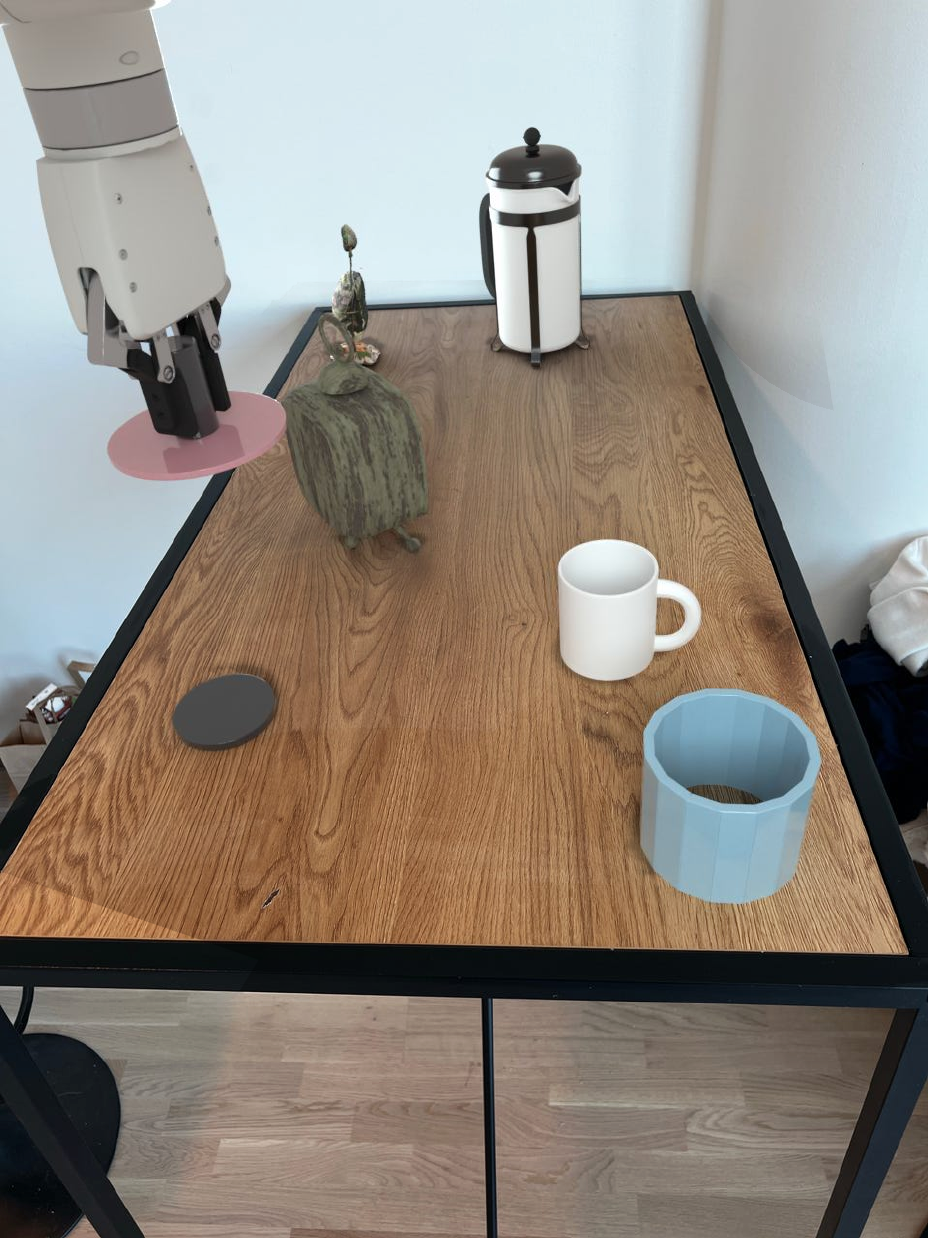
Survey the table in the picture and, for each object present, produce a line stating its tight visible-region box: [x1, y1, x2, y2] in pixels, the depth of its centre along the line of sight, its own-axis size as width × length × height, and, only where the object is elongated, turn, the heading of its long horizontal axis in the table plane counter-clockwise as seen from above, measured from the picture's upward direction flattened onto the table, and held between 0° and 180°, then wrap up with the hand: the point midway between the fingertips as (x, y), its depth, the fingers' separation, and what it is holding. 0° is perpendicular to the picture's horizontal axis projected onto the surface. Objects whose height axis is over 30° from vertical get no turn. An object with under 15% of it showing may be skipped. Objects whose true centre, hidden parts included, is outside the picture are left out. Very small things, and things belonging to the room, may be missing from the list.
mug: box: [557, 538, 702, 682], centre depth 80 cm, size 12×8×10 cm
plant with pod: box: [329, 223, 381, 366], centre depth 138 cm, size 8×11×20 cm
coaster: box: [172, 673, 278, 752], centre depth 83 cm, size 9×9×1 cm
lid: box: [106, 335, 288, 482], centre depth 62 cm, size 12×12×7 cm
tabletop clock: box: [280, 313, 430, 554], centre depth 95 cm, size 14×9×25 cm, turn 33°
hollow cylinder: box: [639, 687, 822, 905], centre depth 64 cm, size 11×11×10 cm
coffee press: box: [478, 126, 591, 367], centre depth 132 cm, size 17×16×30 cm
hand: (193, 418), depth 63 cm, fingers closed on lid, 3 cm apart
